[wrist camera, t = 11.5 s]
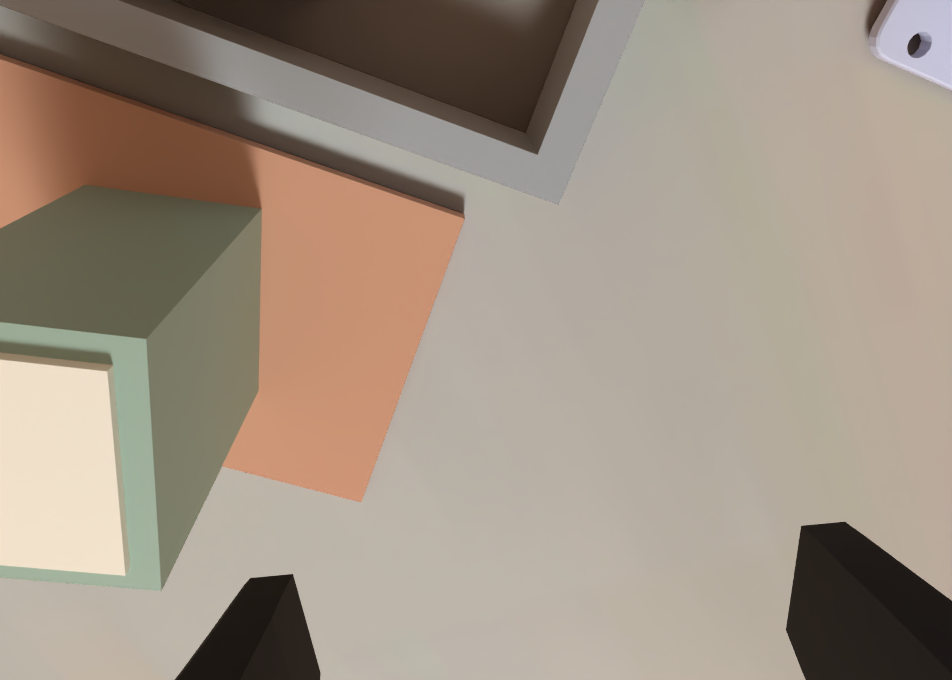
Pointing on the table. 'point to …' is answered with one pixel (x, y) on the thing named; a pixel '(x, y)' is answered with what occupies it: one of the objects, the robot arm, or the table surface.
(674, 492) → the table surface
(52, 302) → the labelled box
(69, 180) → the mat
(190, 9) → the parts bin
